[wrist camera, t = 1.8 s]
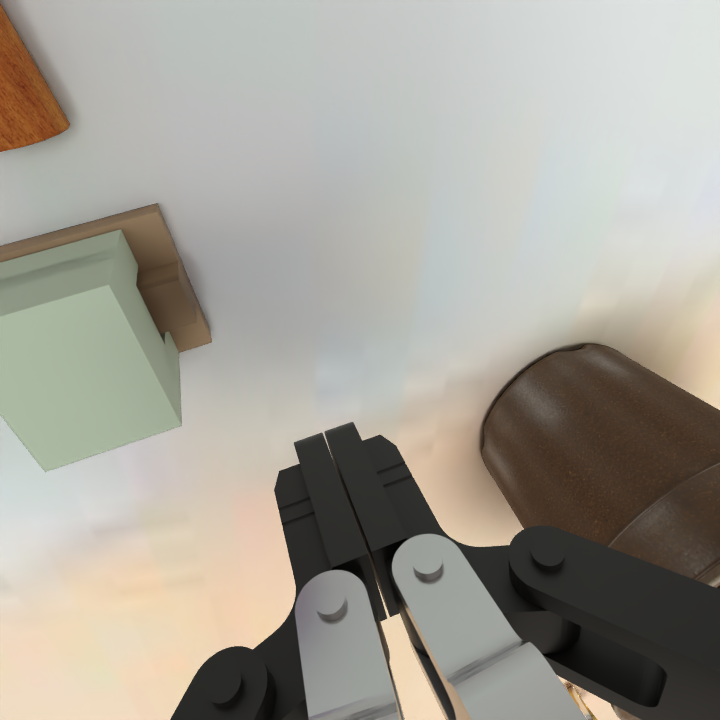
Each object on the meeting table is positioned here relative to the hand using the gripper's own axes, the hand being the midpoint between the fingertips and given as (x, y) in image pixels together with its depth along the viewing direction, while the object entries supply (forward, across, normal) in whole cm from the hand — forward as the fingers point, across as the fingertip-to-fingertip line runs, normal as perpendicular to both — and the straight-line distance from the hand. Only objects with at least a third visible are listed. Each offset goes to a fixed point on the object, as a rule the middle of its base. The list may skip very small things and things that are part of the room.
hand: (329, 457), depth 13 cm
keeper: (+13, +7, 0) cm, 15 cm away
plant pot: (+15, -17, +18) cm, 29 cm away
